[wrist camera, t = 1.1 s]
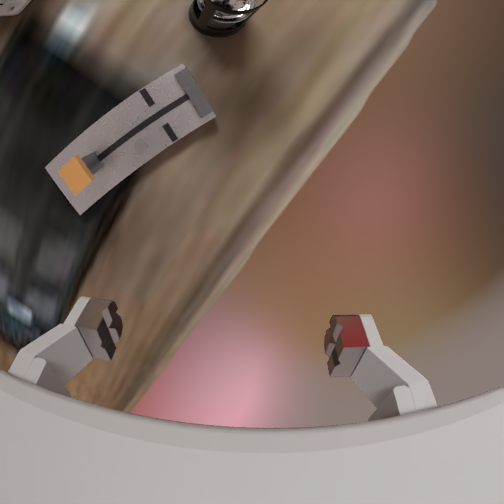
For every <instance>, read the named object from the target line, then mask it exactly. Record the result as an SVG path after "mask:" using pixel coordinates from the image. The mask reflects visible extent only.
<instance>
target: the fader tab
mask: <svg viewBox="0 0 504 504" xmlns="http://www.w3.org/2000/svg"><path fill="white" fill-rule="evenodd" d="M102 167H103V165H102V164H101V162H100V161H99V160H98V158H97V157H96V155H95V154H94V152H93V153H90V154H88V155H86V156H84V157H82V158H81V157H80V156H79V155H76V156H74V157H73V158H72V159H71V160H70V161H68V162H67V163H66V164H65V165H64V166H63V167H62V168H61V169H60V170H59V171H58V173H59V174H60V176H61V177H62V178H63V180H64V181H65V182H66V184H67V185H68V187H69V188H70V189H71V191H72V192H73V193H74V195H75V196H76V195H77V194H78V193H79V192H80V191H81V190H82V189H83V188H85V187H86V186H87V185H88V184H89V183H90V182H92V181H93V180H94V179H95V177H94V176H93V175H94V174H95V173H96V172H97V171H98V170H100V169H101V168H102Z"/></svg>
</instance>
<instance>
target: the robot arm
mask: <svg viewBox="0 0 504 504" xmlns="http://www.w3.org/2000/svg"><path fill="white" fill-rule="evenodd" d="M30 1H32V0H0V16H11V15H17V14H19V13H20V12H21V11H22V10H23V9H24V8H25V7H26V6H27V5H28V4H29V3H30ZM13 8H14V9H13ZM12 9H13V10H12ZM117 309H118V307H117V305H116V302H114V301H110V300H103V299H97V298H90V297H84V296H82V297H80V298H79V299H78V301H77V302H76V304H75V305H74V307H73V309H72V310H71V312H70V314H69V315H68V317H67V319H66V320H65V322H64V324H59V325H58V326H56V327H55V328H53V329H51V330H50V331H48V332H47V333H45V334H44V335H42V336H41V337H39V338H37V339H36V340H34V341H33V342H31V343H30V344H28V345H27V346H25V347H24V348H22V349H21V350H20V351H19V353H18V355H17V356H16V358H15V360H14V362H13V364H12V366H11V367H10V369H9V371H8V373H7V372H5V371H3V370H0V504H504V387H498V388H494V389H492V390H489V391H486V392H484V393H481V394H478V395H475V396H472V397H469V398H466V399H463V400H460V401H457V402H453V403H450V404H446V405H443V406H439V407H437V404H436V401H435V398H434V395H433V393H432V390H431V387H430V385H429V382H428V380H427V379H426V378H424V377H423V376H422V375H421V374H420V373H418V372H417V371H416V370H415V369H414V368H413V367H411V366H410V365H409V364H408V363H406V362H405V361H404V360H403V359H401V357H399V356H398V355H397V354H396V353H394V352H393V351H392V350H391V349H390V348H389V347H387V346H383V343H382V341H381V338H380V336H379V333H378V330H377V328H376V325H375V323H374V320H373V318H372V316H371V315H370V314H363V315H361V314H359V315H333V316H332V317H331V319H330V326H331V327H330V328H329V329H328V330H327V331H326V334H325V339H324V349H325V354H326V355H327V356H328V357H329V360H328V362H327V365H328V369H329V374H330V377H350V376H351V379H352V380H353V381H354V382H355V383H356V384H357V385H358V387H359V388H360V389H361V390H362V391H363V393H364V394H365V395H366V396H367V397H368V398H369V400H370V401H371V402H372V403H373V404H374V406H375V407H376V408H377V410H376V411H375V412H374V413H373V414H372V415H371V417H370V418H369V419H368V421H366V422H359V423H351V424H342V425H331V426H318V427H302V428H245V427H244V428H243V427H225V426H213V425H202V424H193V423H185V422H178V421H170V420H164V419H158V418H152V417H147V416H142V415H137V414H132V413H127V412H123V411H118V410H114V409H110V408H106V407H102V406H99V405H95V404H91V403H88V402H84V401H81V400H78V399H74V398H71V394H70V393H69V391H68V390H67V389H66V388H65V386H64V385H65V384H66V383H67V382H68V381H70V380H71V379H72V378H73V377H74V376H75V375H76V374H77V373H78V372H79V371H80V370H81V369H83V368H84V367H85V366H86V365H87V364H88V363H89V362H90V361H91V360H92V359H93V358H97V359H102V360H108V361H111V360H112V357H113V355H114V352H115V350H116V346H115V343H116V342H117V341H118V340H120V337H121V335H122V329H123V325H122V319H121V317H120V316H119V315H118V314H117V313H116V312H117Z"/></svg>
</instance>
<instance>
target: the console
mask: <svg viewBox="0 0 504 504" xmlns="http://www.w3.org/2000/svg"><path fill="white" fill-rule="evenodd" d="M213 111H214V110H213V108H212V106H211V105H210V103H209V102H208V100H207V98H206V97H205V95H204V94H203V92H202V90H201V89H200V87H199V86H198V84H197V82H196V81H195V79H194V78H193V76H192V75H191V73H190V72H189V70H188V68H187V67H186V68H185V66H184V65H183V64H181V65H179V66H178V67H176V68H174V69H172V70H171V71H169V72H167V73H166V74H164V75H162V76H161V77H159V78H157V79H156V80H154V81H153V82H151V83H149V84H148V85H146V86H145V87H143V88H142V89H140V90H139V91H137V92H136V93H134V94H133V95H131V96H130V97H129V98H127V99H126V100H124V101H123V102H121V103H120V104H119V105H117V106H116V107H115V108H113V109H112V110H111V111H109V112H108V113H107V114H105V115H104V116H103V117H101V118H100V119H99V120H98V121H96V122H95V123H94V124H93V125H91V126H90V127H89V128H88V129H87V130H85V131H84V132H83V133H82V134H81V135H79V136H78V137H77V138H76V139H75V140H74V141H73V142H71V143H70V144H69V145H68V146H67V147H66V148H65V149H64V150H63V151H62V152H61V153H59V154H58V155H57V156H56V157H55V158H54V159H53V160H52V161H51V162H50V163H49V164H48V165H47V166H46V167H45V169H46V170H47V172H48V173H49V174H50V176H51V177H52V179H53V180H54V181H55V183H56V184H57V186H58V187H59V188H60V190H61V191H62V192H63V194H64V195H65V196H66V198H67V199H68V200H69V202H70V203H71V204H72V206H73V207H74V208H75V210H76V211H77V212H78V213H79V215H81V214H82V213H83V212H84V211H86V210H87V209H88V208H89V207H90V206H91V205H93V204H94V203H95V202H96V201H97V200H98V199H100V198H101V197H102V196H103V195H104V194H106V193H107V192H108V191H109V190H111V189H112V188H113V187H114V186H116V185H117V184H118V183H119V182H121V181H122V180H123V179H125V178H126V177H127V176H128V175H130V174H131V173H132V172H134V171H135V170H136V169H138V168H139V167H140V166H142V165H143V164H145V163H146V162H147V161H149V160H150V159H152V158H153V157H154V156H156V155H157V154H159V153H160V152H161V151H163V150H164V149H166V148H167V147H169V146H170V145H172V144H173V143H175V142H176V141H178V140H179V139H181V138H182V137H184V136H185V135H187V134H189V133H190V132H192V131H193V130H195V129H196V128H198V127H200V126H201V125H203V124H205V123H206V122H208V121H210V120H211V119H213V118H215V117H216V115H215V114H214V112H213ZM93 152H94V154H95V155H96V157H97V158H98V160H99V161H100V162H101V164H102V165H103V167H102V168H101V169H100V170H98V171H97V172H96V173H95V174H94V175H93V176H94V177H95V179H94V180H93V181H92V182H90V183H89V184H88V185H87V186H86V187H85V188H83V189H82V190H81V191H80V192H79V193H78V194H77V195H76V196H75V195H74V193H73V192H72V191H71V189H70V188H69V187H68V185H67V184H66V182H65V181H64V180H63V178H62V177H61V176H60V174H59V173H58V171H59V170H60V169H61V168H62V167H63V166H64V165H65V164H66V163H67V162H68V161H70V160H71V159H72V158H73V157H74V156H76V155H79V156H80V157H81V158H82V157H84V156H86V155H88V154H90V153H93Z"/></svg>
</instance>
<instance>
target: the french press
mask: <svg viewBox="0 0 504 504" xmlns="http://www.w3.org/2000/svg"><path fill="white" fill-rule="evenodd" d="M267 1H268V0H265V1H264V2H263V4H261V5H260V6H258V7H256V8H255V6H256V0H194V1H193V3H192V4H191V6H190V9H189V19H190V21H191V24H192V25H193V26H194V28H196V29H197V30H198V31H199V32H201V33H203V34H205V35H207V36H211V37H226V36H230V35H232V34H235V33H236V32H238V31H239V30H240V29H241V28H242V27H243V26H244V25H245V23H246V21H247V20H248V19H249V18H250V17H251V16H252V15H253V14H254V13H255V12H256V11H257V10H258V9H259V8H261V7H262V6H263V5H264V4H265V3H266V2H267ZM198 7H199V9H200V10H201V15H200V17H199V18H198V14H197V11H198ZM210 20H213V21H216V22H221V23H235V22H237V23H236V24H235V25H233V26H232V27H230V28H227V29H215V28H211V27H209V26H208V24H209V22H210Z"/></svg>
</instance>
